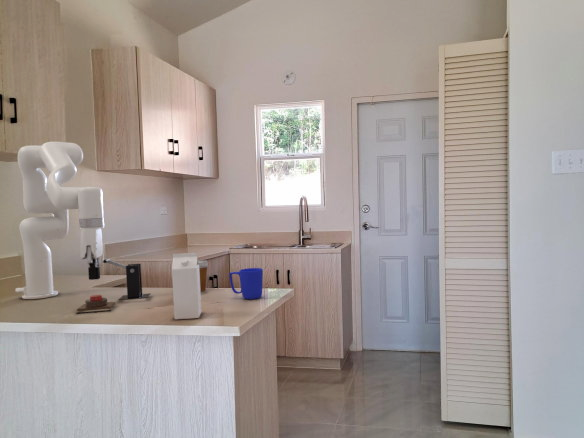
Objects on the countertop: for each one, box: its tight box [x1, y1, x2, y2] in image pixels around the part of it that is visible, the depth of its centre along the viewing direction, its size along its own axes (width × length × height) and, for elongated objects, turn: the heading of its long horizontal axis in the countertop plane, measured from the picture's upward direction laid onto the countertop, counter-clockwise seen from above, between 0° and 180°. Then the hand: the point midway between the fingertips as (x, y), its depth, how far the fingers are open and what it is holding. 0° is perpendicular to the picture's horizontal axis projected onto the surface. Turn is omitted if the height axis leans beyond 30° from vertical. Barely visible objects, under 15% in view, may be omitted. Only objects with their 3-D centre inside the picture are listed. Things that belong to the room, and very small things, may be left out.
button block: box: [76, 297, 116, 315], centre depth 155 cm, size 10×8×4 cm
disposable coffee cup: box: [198, 259, 209, 292], centre depth 178 cm, size 10×10×12 cm
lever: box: [102, 257, 127, 270], centre depth 169 cm, size 12×5×2 cm, turn 99°
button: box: [89, 294, 103, 301], centre depth 155 cm, size 4×4×2 cm
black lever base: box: [118, 263, 151, 301], centre depth 170 cm, size 10×8×13 cm
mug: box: [228, 267, 264, 300], centre depth 164 cm, size 8×12×10 cm
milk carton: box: [171, 252, 202, 320], centre depth 140 cm, size 7×7×19 cm
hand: (94, 279), depth 155 cm, fingers closed
